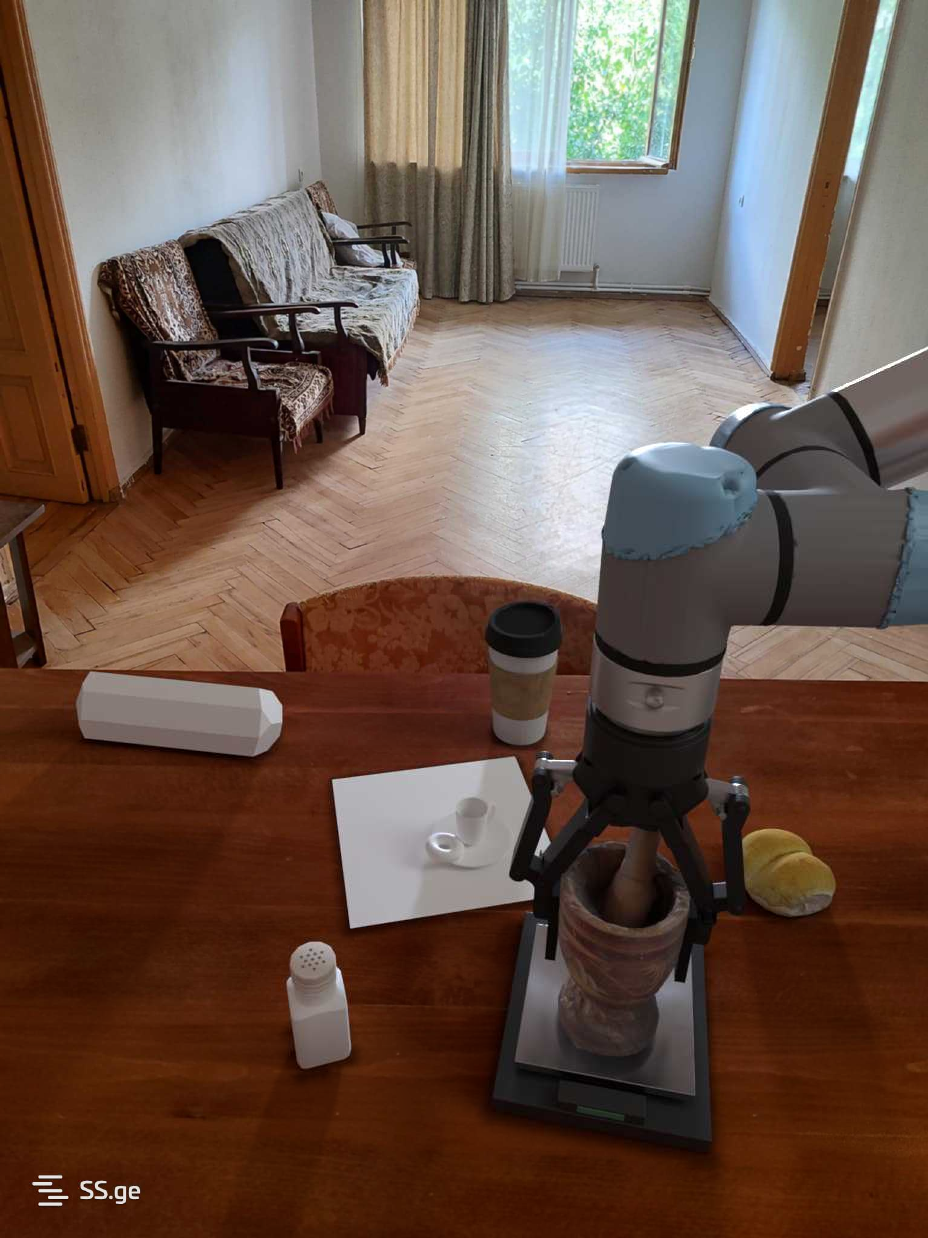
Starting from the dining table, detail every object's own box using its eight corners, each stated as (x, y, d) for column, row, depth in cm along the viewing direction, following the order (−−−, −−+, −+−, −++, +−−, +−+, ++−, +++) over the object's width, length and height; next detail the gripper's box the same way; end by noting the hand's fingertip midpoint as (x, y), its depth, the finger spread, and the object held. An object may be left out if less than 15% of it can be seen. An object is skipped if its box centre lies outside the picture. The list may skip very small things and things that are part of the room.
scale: (700, 952, 75) (705, 933, 73) (708, 1154, 60) (713, 1134, 59) (524, 923, 77) (526, 904, 76) (491, 1110, 63) (492, 1090, 61)
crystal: (50, 722, 95) (263, 745, 92) (74, 663, 99) (280, 684, 95) (80, 748, 101) (281, 771, 98) (102, 692, 105) (296, 712, 102)
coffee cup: (571, 735, 100) (581, 621, 93) (511, 762, 96) (517, 644, 89) (525, 700, 106) (531, 590, 99) (468, 723, 102) (469, 610, 95)
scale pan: (690, 955, 72) (691, 948, 71) (693, 1102, 61) (695, 1096, 61) (536, 929, 74) (536, 923, 74) (514, 1068, 63) (514, 1061, 63)
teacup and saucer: (430, 878, 81) (429, 845, 79) (416, 819, 88) (415, 787, 86) (521, 864, 83) (523, 832, 81) (501, 807, 90) (502, 776, 88)
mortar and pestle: (557, 926, 72) (572, 730, 62) (664, 940, 71) (697, 742, 61) (546, 1055, 62) (562, 847, 52) (670, 1074, 61) (711, 864, 51)
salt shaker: (352, 1060, 66) (345, 976, 61) (299, 1074, 65) (287, 990, 60) (343, 1014, 69) (336, 931, 64) (292, 1027, 68) (280, 943, 63)
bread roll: (787, 839, 86) (795, 808, 84) (846, 907, 79) (857, 875, 77) (712, 856, 84) (719, 825, 82) (766, 928, 77) (774, 896, 75)
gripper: (465, 717, 52) (462, 973, 63) (846, 765, 48) (771, 1027, 60) (487, 651, 58) (481, 894, 70) (825, 689, 55) (761, 939, 66)
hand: (614, 955), depth 65 cm, fingers closed on mortar and pestle, 9 cm apart
